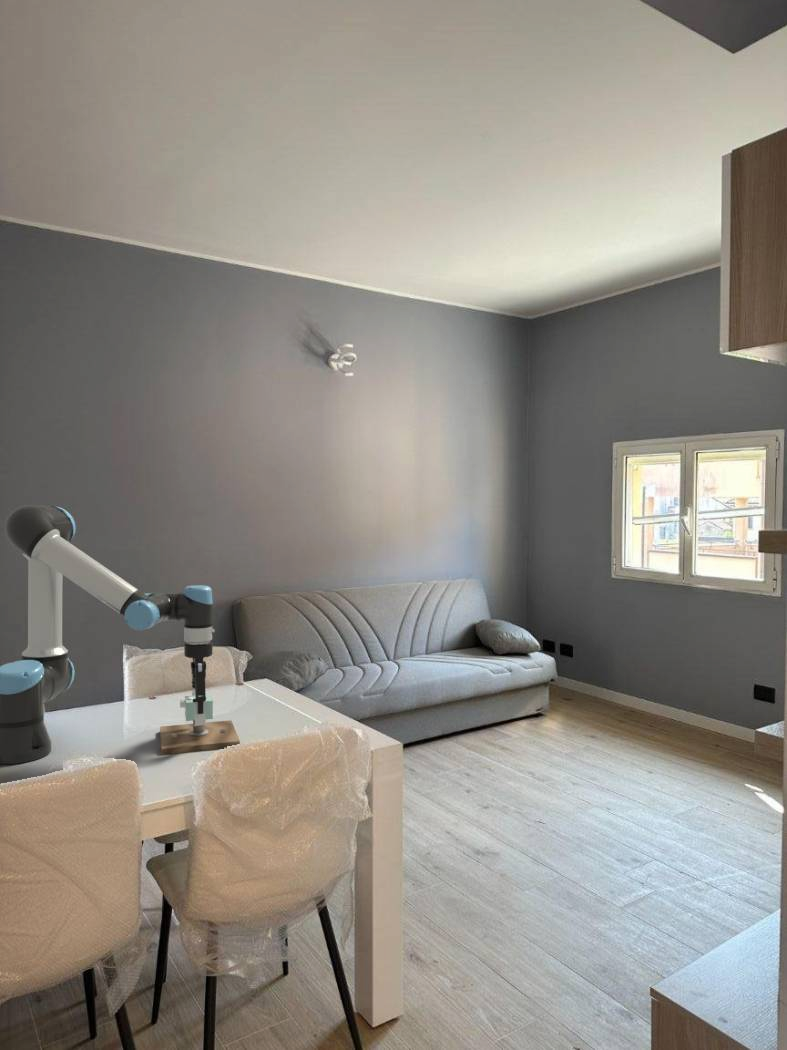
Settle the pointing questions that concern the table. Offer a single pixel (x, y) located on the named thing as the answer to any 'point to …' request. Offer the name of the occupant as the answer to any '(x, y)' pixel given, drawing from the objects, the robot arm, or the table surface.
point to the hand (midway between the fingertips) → (198, 718)
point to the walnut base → (197, 737)
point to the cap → (190, 707)
